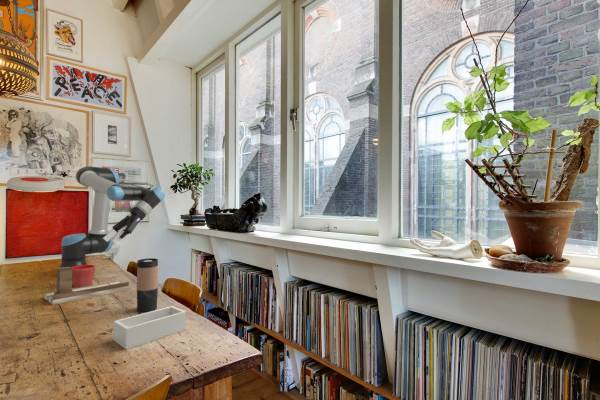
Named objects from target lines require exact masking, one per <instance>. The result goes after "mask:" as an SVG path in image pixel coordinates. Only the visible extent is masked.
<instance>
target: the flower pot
mask: <svg viewBox="0 0 600 400" xmlns="http://www.w3.org/2000/svg"><path fill="white" fill-rule="evenodd" d="M71 268H72V288H81V287H87V286H92V284H93V279H94V276H95V270H96V265H94V264H87V265H79V266H74V267H71Z"/></svg>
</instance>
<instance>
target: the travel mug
mask: <svg viewBox="0 0 600 400" xmlns="http://www.w3.org/2000/svg"><path fill="white" fill-rule="evenodd" d="M136 267H137V268H136V269H137V270H136V271H137V272H136V310H137V312H138V313H140V314H143V313H147V312H151V311H155V310H158V309H157V308H158V293H159V291H158V290H159V259H158V258H152V257H151V258H150V257H149V258H142V259H138V260H137V266H136Z"/></svg>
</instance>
